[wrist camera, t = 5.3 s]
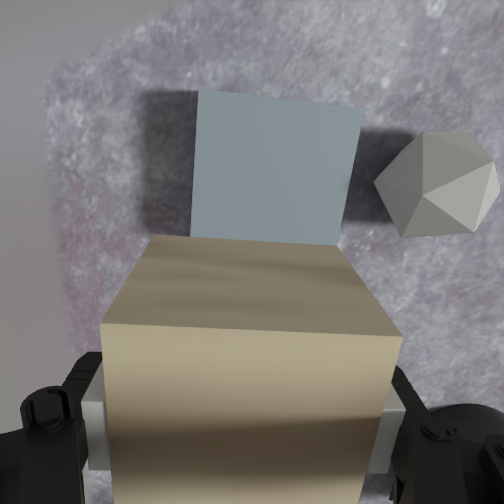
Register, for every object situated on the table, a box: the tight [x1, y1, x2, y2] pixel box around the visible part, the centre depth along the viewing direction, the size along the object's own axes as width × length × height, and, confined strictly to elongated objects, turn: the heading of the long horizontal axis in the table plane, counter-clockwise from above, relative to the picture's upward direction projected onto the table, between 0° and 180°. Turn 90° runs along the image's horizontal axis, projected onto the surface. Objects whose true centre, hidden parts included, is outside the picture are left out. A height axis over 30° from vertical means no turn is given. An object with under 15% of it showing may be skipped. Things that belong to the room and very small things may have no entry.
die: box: [374, 131, 500, 238], centre depth 29 cm, size 8×9×10 cm
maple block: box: [100, 234, 403, 504], centre depth 14 cm, size 8×8×7 cm
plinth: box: [190, 88, 365, 246], centre depth 30 cm, size 12×12×4 cm
